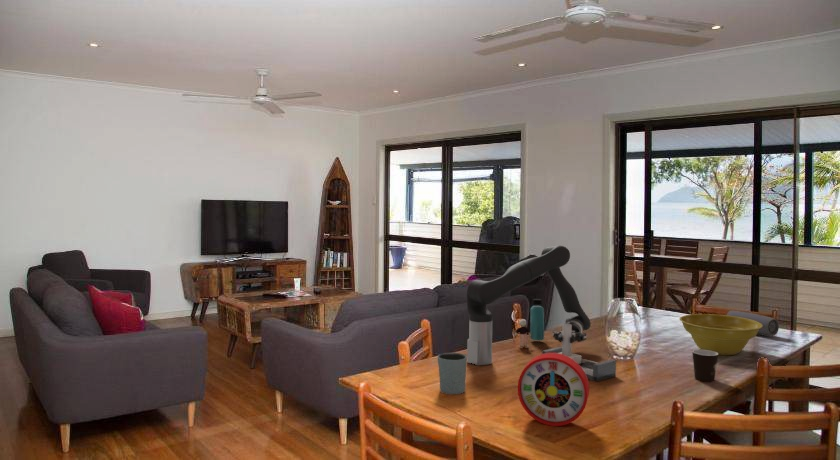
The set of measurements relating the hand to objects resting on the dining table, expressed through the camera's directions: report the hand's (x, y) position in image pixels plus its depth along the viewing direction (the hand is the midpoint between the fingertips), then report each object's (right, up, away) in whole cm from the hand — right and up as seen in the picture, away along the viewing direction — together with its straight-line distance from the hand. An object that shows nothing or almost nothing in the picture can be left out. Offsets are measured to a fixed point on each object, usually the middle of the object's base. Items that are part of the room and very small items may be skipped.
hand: (565, 340), depth 227 cm
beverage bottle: (-2, -10, +45) cm, 46 cm away
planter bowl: (+74, -11, +29) cm, 80 cm away
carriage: (+1, -9, +3) cm, 10 cm away
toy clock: (-17, -14, -54) cm, 58 cm away
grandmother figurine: (-11, -10, +35) cm, 38 cm away
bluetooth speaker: (+108, -9, +65) cm, 127 cm away
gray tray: (+4, -12, -1) cm, 12 cm away
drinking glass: (-45, -13, -25) cm, 53 cm away
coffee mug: (+49, -12, -11) cm, 52 cm away
